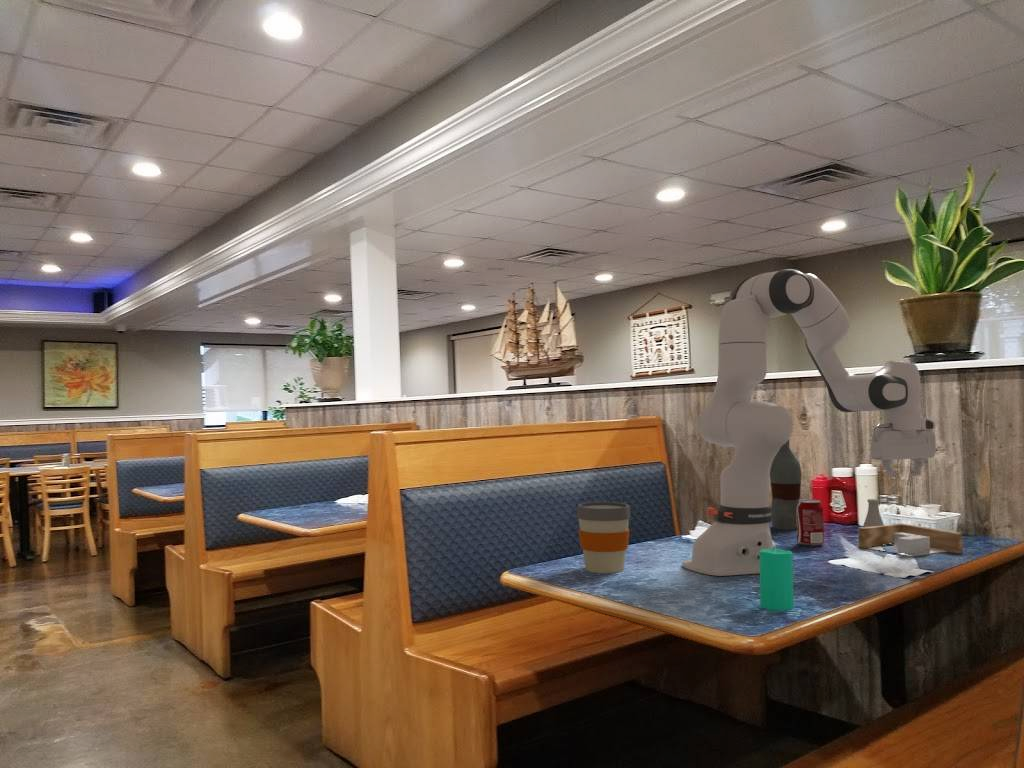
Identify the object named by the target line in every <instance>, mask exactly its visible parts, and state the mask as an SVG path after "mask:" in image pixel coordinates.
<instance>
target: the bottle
mask: <svg viewBox="0 0 1024 768" xmlns="http://www.w3.org/2000/svg"><path fill="white" fill-rule="evenodd" d="M790 447H791V446H790V439H789V440H788V441H787V442H786V443H785V444H784V445H783V446H781V448H780V449H779V450H778V451H777V453H776V455H775V457H774V459H773V462H772V465H771V469H770V474H769V481H770V488H771V505H770V507H771V521H770V523H771V525H772V527H773V529H776V530H781V531H782V530H784V531H797V530H796V529H797V516H796V506H797V505H798V503H799V500H801V485H802V468H801V465H800V461H799V459H798V458H797V457H796V455H795V454H794V452H793V451H792V449H791V448H790Z"/></svg>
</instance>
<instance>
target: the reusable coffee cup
mask: <svg viewBox="0 0 1024 768" xmlns="http://www.w3.org/2000/svg"><path fill="white" fill-rule="evenodd" d="M576 518H577V519H578V524H579V527H578V536H579V545H580V549H582V554H583V560H584V569H585V571H586V572H587V571H588V573H589V572H590V573H593V574H594V573H595V574H596V573H597V574H616V573H621V572H622V571H624V567H625V560H626V559H625V558H626V550H627V549H628V547H629V539H630V538H629V537H630V529H629V521H630V518H631V512H630V505H629V504H627V503H625V502H624V503H623V502H616V501H613V502H611V501H592V502H584V503H579V504H577V512H576Z"/></svg>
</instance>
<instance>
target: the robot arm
mask: <svg viewBox="0 0 1024 768" xmlns="http://www.w3.org/2000/svg"><path fill="white" fill-rule="evenodd" d="M785 315H790V316H792V317H793V319H794V321H795V323H796V324H797V325H798V327H799V328H800V330H801V331H802V333H803V335H804V337H805V340H804V341H805V347H806V350H807V352H808V354H809V356H810V358H811V360H812V362H813V363H814V365H815V367H816V369H817V371H818V373H819V375H820V376H821V378H822V380H823V381H824V384H825V386H826V388H827V391H828V396H829V399H830V401H831V403H832V405H833V406H834V408H835V409H837V410H838V411H840V412H843V413H855V412H857V413H858V412H881V411H883V413H882V414H883V418H882V419H883V423H878V424H876V426H875V427H874V428H873V430H872V434H871V439H870V457H871V459H872V460H874V461H881V465H882V467H883V468H884V470H885V477H886V478H890V479H892V478H896V476H897V475H896V474H897V473H896V470H894V469H893V466H892V465H893V464H894V460H895V461H896V460H897V461H898V460H911V459H912V460H913V462H914V465H913V468H911V469H910V471H911V476H913V477H920V476H922V468H923V466H924V464H925V459H930V458H931V459H933V458H934V457H935V455H936V452H937V449H936V447H937V446H936V444H937V443H936V433H935V431H934V430H935V429H936V422H935V421H934V420H931V419H929V418H926V417H925V416H922V409H921V405H920V400H921V396H922V390H921V389H922V386H921V376H920V371H919V368H918V366H917V365H916V364H915V363H913V362H910V361H906V360H888V361H886V362H885V363H884V366H882V367H881V368H880V369H878V370H876V371H874V372H872V373H865V374H853V373H852V372H849V371H847V370H846V368H845V366H844V365H843V363H842V361H841V359H840V357H839V355H838V354H837V353H838V352H837V351H836V350H835V346H836V345H837V344H839V343H840V342H841V341H842V340H843V338H844V337H845V336H846V334H847V333H848V330H850V329H849V328H850V323H851V322H850V321H851V320H850V317H849V315H848V313H847V311H846V309H845V308H844V306H843V305H842V303H841V302H840V301H839V299H838V298H837V296H836V295H835V294H834V293H833V292H832V290H831V289H830V288H829V287H828V286H827V285H826V283H824V282H823V280H821V279H820V278H819V277H818V276H816V275H815V274H813V273H804V272H802V271H800V270H798V269H793V268H790V269H789V268H785V269H781V270H778V271H776V270H775V271H773V272H772V271H771V272H764V273H760V274H758V275H755V276H753V277H748V278H745V279H744V280H742V281H741V282H739V283H738V284H737V285H736V286H735V288H734V290H733V292H732V294H731V299H730V300H729V301H728V302H726V303H725V304H724V306H723V308H722V310H721V314H720V320H719V327H718V346H717V347H718V359H717V360H718V362H717V363H718V364H717V367H718V368H717V378H716V379H717V380H716V384H715V387H714V390H713V392H712V395H711V398H710V400H709V401H708V403H707V405H706V406H704V407H703V409H701V411H700V412H699V415H698V417H697V422H696V423H697V430H698V433H699V435H700V437H701V438H702V439H703V440H704V441H706V442H708V443H711V444H713V445H716V446H718V447H719V446H720V447H729V448H731V447H732V448H735V449H734V455H733V457H732V460H731V462H730V463H729V464H728V465H727V466H725V467H724V468H723V469H722V471H721V472H720V475H719V477H720V481H719V483H720V504H719V506H718V508H715V507H711V506H709V507H708V508H707V509H706V515H708V516H709V517H715V518H714V522H713V523H711V525H709V527H708V528H706V530H704V532H702V533H701V534H700V535H698V537H697V538H696V539H695V540H694V542H693V544H692V545H693V546H692V552H691V559H687V560H683V561H682V564H681V565H682V567H683V568H685V569H687V570H689V571H692V572H695V573H700V574H704V575H708V576H719V577H722V576H724V577H725V576H739V575H750V574H751V575H752V574H753V575H755V574H760V565H759V551H761V550H762V549H770V548H774V545H773V539H772V532H771V505H770V500H769V499H770V469H771V465H772V462H773V459H774V457H775V455H776V454H777V452H778V451H779V449H780V448H781V446H783V445H784V444H785V443H786V442H787V441H788V440H789V441H790V438H791V435H792V433H793V426H794V425H793V419H792V416H791V414H790V412H789V410H788V409H787V408H785V407H784V406H782V405H779V404H776V403H771V402H768V401H752V396H753V394H754V391H755V390H756V388H757V386H759V384H761V382H764V380H765V378H766V376H767V333H766V325H767V323H768V320H769V319H773V318H774V319H775V318H779V317H783V316H785Z"/></svg>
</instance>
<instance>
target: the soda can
mask: <svg viewBox="0 0 1024 768" xmlns="http://www.w3.org/2000/svg"><path fill="white" fill-rule="evenodd" d="M796 516H797V530H796V542H797V543H798V544H799V545H801V546H804V547H815V548H816V547H820V546H821V545H823V544H825V543H824V542H825V541H824V540H825V539H824V538H825V535H824V530H825V529H824V507H823V505H822V504H821V500H818V499H813V498H812V499H808V498H806V499H805V498H804V499H802V498H801V499H800V500H799V503H798V505H797V506H796Z"/></svg>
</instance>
